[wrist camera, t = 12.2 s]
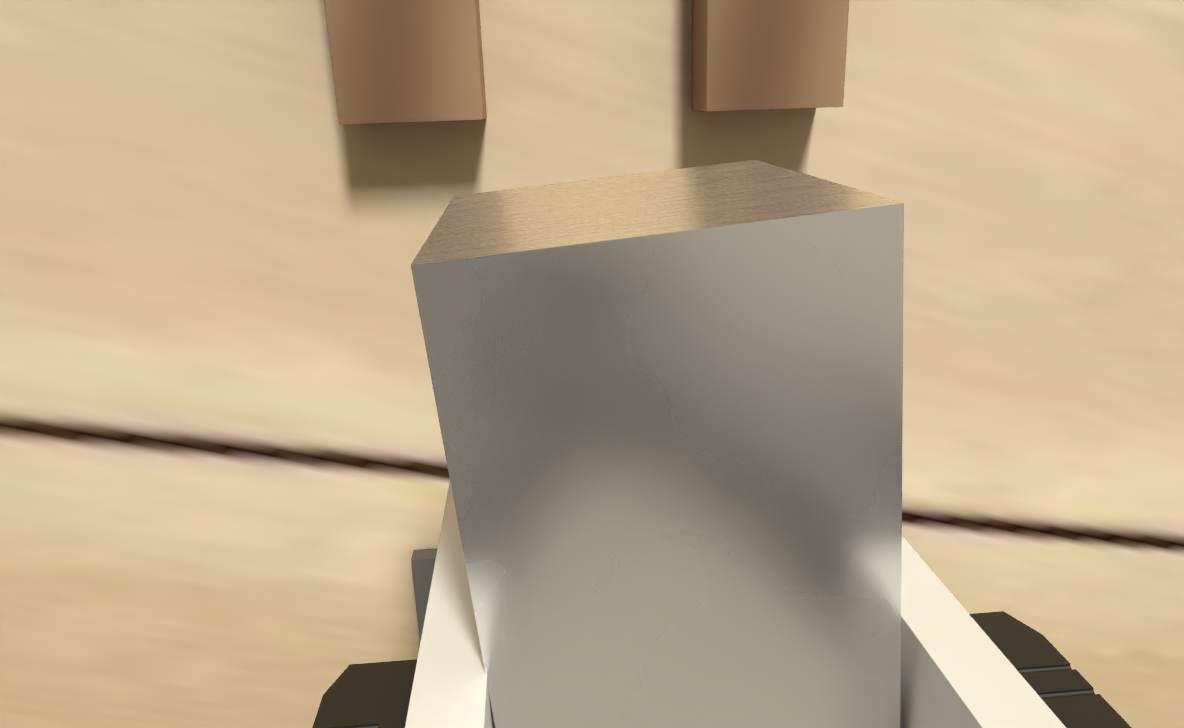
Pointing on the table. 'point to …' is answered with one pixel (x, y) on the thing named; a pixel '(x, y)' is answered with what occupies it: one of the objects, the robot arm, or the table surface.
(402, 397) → the table surface
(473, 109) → the slot board
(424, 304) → the aluminium block
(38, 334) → the table surface
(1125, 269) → the table surface
